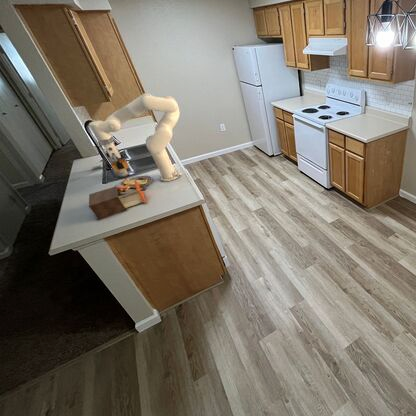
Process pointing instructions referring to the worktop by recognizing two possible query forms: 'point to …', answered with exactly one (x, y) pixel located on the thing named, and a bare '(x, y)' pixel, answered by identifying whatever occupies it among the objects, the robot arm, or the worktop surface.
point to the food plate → (132, 184)
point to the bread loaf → (122, 163)
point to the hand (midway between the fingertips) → (121, 166)
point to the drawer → (133, 196)
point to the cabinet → (106, 202)
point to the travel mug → (122, 172)
